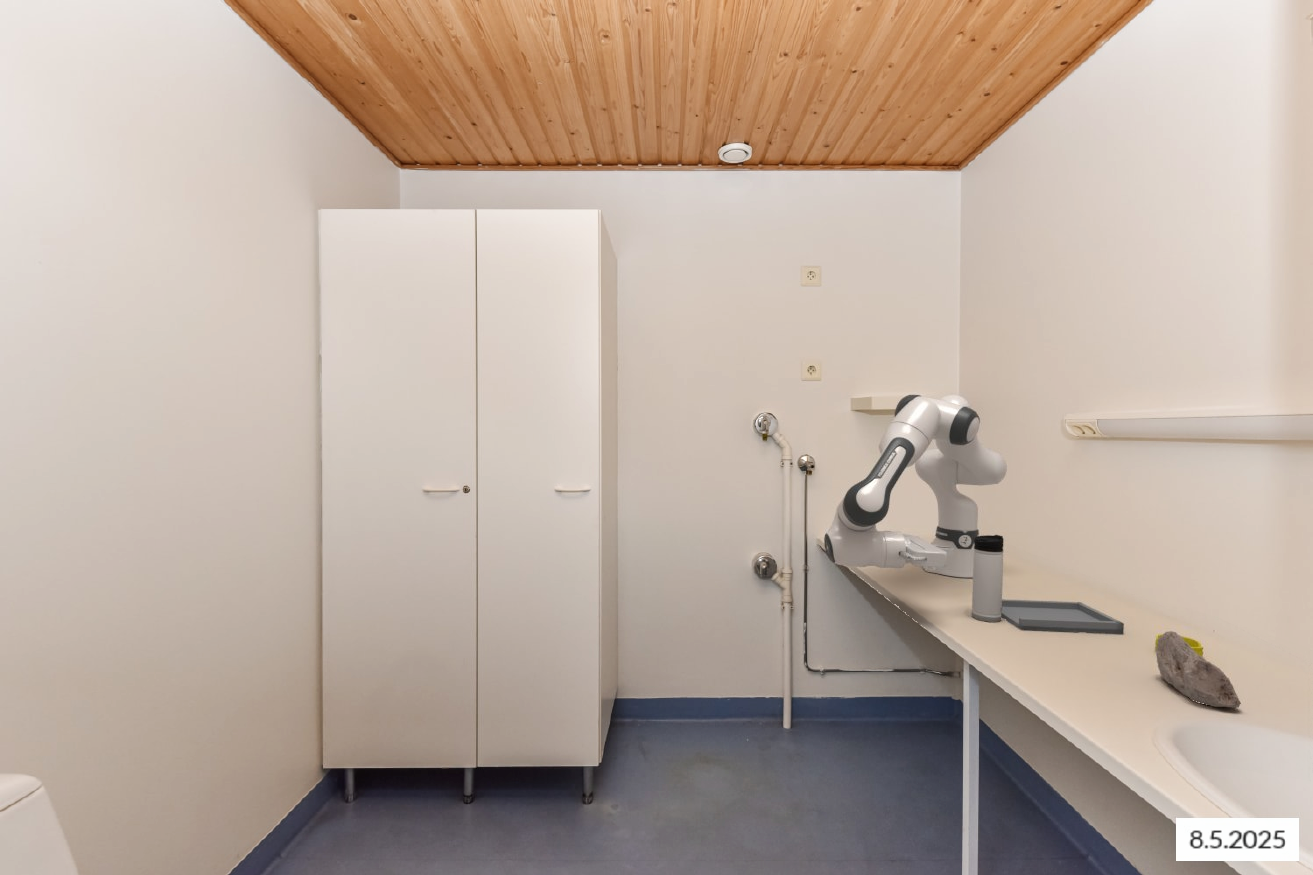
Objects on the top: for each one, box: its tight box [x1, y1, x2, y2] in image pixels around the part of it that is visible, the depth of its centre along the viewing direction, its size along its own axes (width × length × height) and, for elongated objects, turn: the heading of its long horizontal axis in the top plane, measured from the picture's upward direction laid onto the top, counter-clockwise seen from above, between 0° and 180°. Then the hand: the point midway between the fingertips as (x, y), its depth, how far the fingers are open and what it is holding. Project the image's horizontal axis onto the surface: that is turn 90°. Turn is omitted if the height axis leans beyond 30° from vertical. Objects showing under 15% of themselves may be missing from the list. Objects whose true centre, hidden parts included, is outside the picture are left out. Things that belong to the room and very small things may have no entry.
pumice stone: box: [1155, 630, 1242, 709], centre depth 107 cm, size 15×8×10 cm, turn 163°
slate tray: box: [1001, 598, 1125, 635], centre depth 146 cm, size 16×22×2 cm
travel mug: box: [971, 534, 1004, 623], centre depth 147 cm, size 6×7×20 cm
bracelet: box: [1154, 633, 1204, 658], centre depth 125 cm, size 7×8×3 cm
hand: (952, 551), depth 147 cm, fingers closed
